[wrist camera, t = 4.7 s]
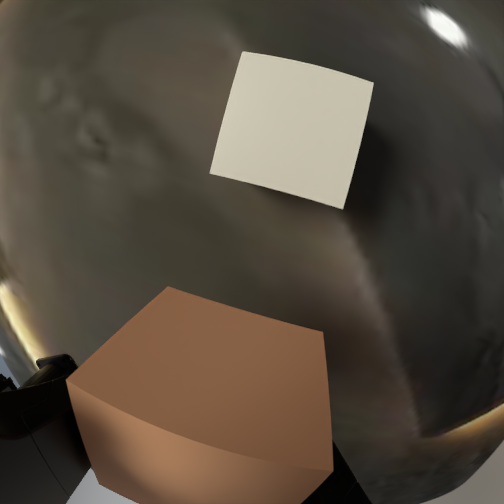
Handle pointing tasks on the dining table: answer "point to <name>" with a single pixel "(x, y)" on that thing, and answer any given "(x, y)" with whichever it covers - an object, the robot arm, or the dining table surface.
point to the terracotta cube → (206, 406)
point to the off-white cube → (292, 128)
